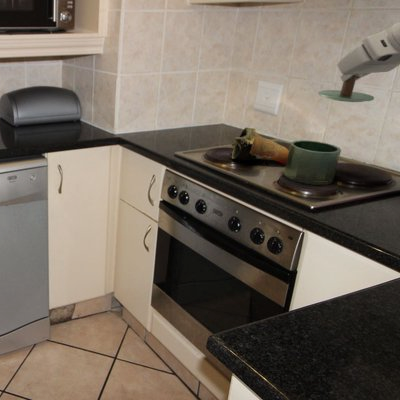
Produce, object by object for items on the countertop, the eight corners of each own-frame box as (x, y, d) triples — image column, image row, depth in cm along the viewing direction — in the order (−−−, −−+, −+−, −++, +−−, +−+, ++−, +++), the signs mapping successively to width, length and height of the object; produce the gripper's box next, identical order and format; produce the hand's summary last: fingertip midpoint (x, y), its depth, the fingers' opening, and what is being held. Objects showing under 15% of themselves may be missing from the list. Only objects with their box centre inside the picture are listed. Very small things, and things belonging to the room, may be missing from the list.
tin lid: (378, 99, 136) (387, 69, 133) (365, 105, 127) (374, 74, 124) (326, 92, 145) (333, 64, 142) (310, 98, 136) (317, 68, 133)
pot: (304, 140, 141) (244, 119, 143) (288, 176, 142) (229, 154, 144) (284, 144, 158) (231, 125, 160) (270, 176, 159) (218, 156, 161)
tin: (338, 178, 140) (346, 147, 136) (323, 188, 132) (332, 155, 128) (293, 167, 148) (300, 138, 144) (276, 176, 140) (283, 145, 136)
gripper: (412, 35, 127) (366, 68, 139) (362, 36, 120) (318, 71, 132) (425, 54, 125) (377, 86, 137) (375, 57, 118) (328, 90, 130)
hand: (347, 79), depth 134 cm, fingers closed on tin lid, 3 cm apart
